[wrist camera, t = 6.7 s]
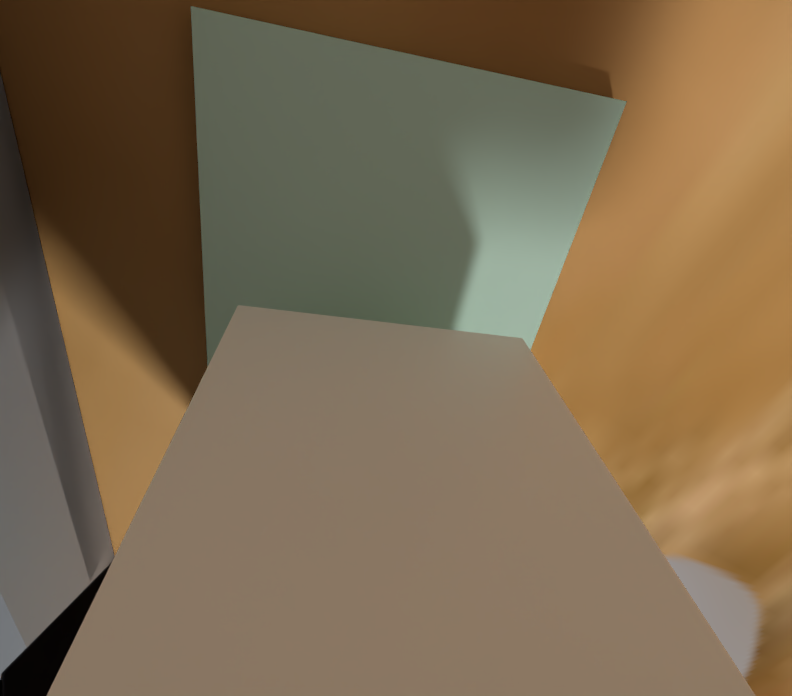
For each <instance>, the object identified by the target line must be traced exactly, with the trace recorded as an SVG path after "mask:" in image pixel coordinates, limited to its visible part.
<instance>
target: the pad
mask: <svg viewBox="0 0 792 696" xmlns="http://www.w3.org/2000/svg"><path fill="white" fill-rule="evenodd" d="M191 23H192V45H193V66H194V88H195V109H196V131H197V152H198V174H199V195H200V217H201V238H202V260H203V281H204V302H205V324H206V345H207V367H208V365H209V363H210V361H211V359H212V357H213V355H214V353H215V351H216V349H217V347H218V345H219V343H220V341H221V339H222V337H223V335H224V332H225V330H226V328H227V326H228V324H229V322H230V320H231V318H232V316H233V314H234V312H235V310H236V308H237V306H238V305H242V306H251V307H259V308H268V309H276V310H285V311H294V312H302V313H311V314H319V315H328V316H336V317H345V318H354V319H362V320H371V321H379V322H388V323H397V324H405V325H414V326H422V327H431V328H439V329H448V330H457V331H465V332H474V333H482V334H491V335H500V336H508V337H517V338H523V340H524V341H525V343H526V344H527V346H528V347H529V349H531V347H532V344H533V342H534V339H535V337H536V334H537V331H538V329H539V326H540V324H541V321H542V319H543V316H544V313H545V311H546V308H547V306H548V303H549V300H550V298H551V295H552V293H553V290H554V288H555V285H556V282H557V280H558V277H559V275H560V272H561V270H562V267H563V264H564V262H565V259H566V257H567V254H568V251H569V249H570V246H571V244H572V241H573V239H574V236H575V233H576V231H577V228H578V226H579V223H580V221H581V218H582V215H583V213H584V210H585V208H586V205H587V202H588V200H589V197H590V195H591V192H592V190H593V187H594V184H595V182H596V179H597V177H598V174H599V172H600V169H601V166H602V164H603V161H604V159H605V156H606V153H607V151H608V148H609V146H610V143H611V141H612V138H613V135H614V133H615V130H616V128H617V125H618V123H619V120H620V117H621V115H622V112H623V110H624V107H625V104H626V102H627V101H622V100H618V99H613V98H609V97H604V96H599V95H595V94H590V93H586V92H581V91H577V90H572V89H568V88H563V87H558V86H554V85H549V84H545V83H540V82H536V81H531V80H526V79H522V78H517V77H513V76H508V75H504V74H499V73H495V72H490V71H485V70H481V69H476V68H472V67H467V66H463V65H458V64H453V63H449V62H444V61H440V60H435V59H431V58H426V57H421V56H417V55H412V54H408V53H403V52H399V51H394V50H390V49H385V48H380V47H376V46H371V45H367V44H362V43H358V42H353V41H348V40H344V39H339V38H335V37H330V36H326V35H321V34H317V33H312V32H307V31H303V30H298V29H294V28H289V27H285V26H280V25H275V24H271V23H266V22H262V21H257V20H253V19H248V18H244V17H239V16H234V15H230V14H225V13H221V12H216V11H212V10H207V9H202V8H198V7H193V6H191Z"/></svg>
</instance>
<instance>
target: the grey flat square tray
mask: <svg viewBox="0 0 792 696" xmlns="http://www.w3.org/2000/svg"><path fill="white" fill-rule="evenodd" d="M113 559H114V552H113V548H112V544H111V540H110V535H109V531H108V527H107V523H106V518H105V514H104V510H103V506H102V501H101V497H100V493H99V489H98V484H97V480H96V476H95V472H94V468H93V463H92V459H91V455H90V451H89V446H88V442H87V438H86V434H85V429H84V425H83V421H82V417H81V412H80V408H79V404H78V400H77V395H76V391H75V387H74V383H73V378H72V374H71V370H70V366H69V361H68V357H67V353H66V349H65V344H64V340H63V336H62V332H61V327H60V323H59V319H58V315H57V311H56V306H55V302H54V298H53V294H52V289H51V285H50V281H49V277H48V272H47V268H46V264H45V260H44V255H43V251H42V247H41V243H40V238H39V234H38V230H37V226H36V221H35V217H34V213H33V209H32V204H31V200H30V196H29V192H28V187H27V183H26V179H25V175H24V170H23V166H22V162H21V158H20V154H19V149H18V145H17V141H16V137H15V132H14V128H13V124H12V120H11V115H10V111H9V107H8V103H7V98H6V94H5V90H4V86H3V81H2V77H1V73H0V679H1V674H2V672H3V671H4V670H5V669H6V668H7V667H8V666H9V665H10V664H11V663H12V662H13V661H14V660H15V659H16V658H17V657H18V656H19V655H20V654H21V653H22V652H23V651H24V650H25V649H26V648H27V647H28V646H29V645H30V644H31V643H32V642H33V641H34V640H35V639H36V638H37V637H38V636H39V635H40V634H41V633H42V632H43V631H44V630H45V629H46V628H47V627H48V626H49V625H50V624H51V623H52V622H53V621H54V620H55V619H56V618H57V617H58V616H59V615H60V614H61V613H62V612H63V611H64V610H65V609H66V608H67V607H68V606H69V605H70V604H71V603H72V602H73V601H74V600H75V599H76V598H77V596H78V595H79V594H80V593H81V592H82V591H83V590H84V589H85V588H86V587H87V586H88V585H89V584H90V583H91V582H92V581H93V580H94V579H95V578H96V577H97V576H98V575H99V574H100V573H101V572H102V571H103V570H104V569H105V568H106V567H107V566H108V565H109V564H110V563H111V562H112V561H113Z"/></svg>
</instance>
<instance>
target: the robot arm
mask: <svg viewBox="0 0 792 696" xmlns="http://www.w3.org/2000/svg"><path fill="white" fill-rule="evenodd" d="M111 563H112V562H111ZM111 563H110V564H109V565H108V566H107V567H106V568H105V569H104V570H103V571H102V572H101V573H100V574H99V575H98V576H97V577H96V578H95V579H94V580H93V581H92V582H91V583H90V584H89V585H88V586H87V587H86V588H85V589H84V590H83V591H82V592H81V593H80V594H79V595H78V596H77V598H76V599H75V600H74V601H73V602H72V603H71V604H70V605H69V606H68V607H67V608H66V609H65V610H64V611H63V612H62V613H61V614H60V615H59V616H58V617H57V618H56V619H55V620H54V621H53V622H52V623H51V624H50V625H49V626H48V627H47V628H46V629H45V630H44V631H43V632H42V633H41V634H40V635H39V636H38V637H37V638H36V639H35V640H34V641H33V642H32V643H31V644H30V645H29V646H28V647H27V648H26V649H25V650H24V651H23V652H22V653H21V654H20V655H19V656H18V657H17V658H16V659H15V660H14V661H13V662H12V663H11V664H10V665H9V666H8V667H7V668H6V669H5V670H4V671H3V672H2V674H1V679H0V696H47V694H48V692H49V690H50V688H51V686H52V684H53V681H54V679H55V677H56V675H57V673H58V671H59V669H60V667H61V665H62V663H63V661H64V659H65V657H66V655H67V653H68V651H69V649H70V647H71V645H72V643H73V641H74V639H75V637H76V635H77V632H78V630H79V628H80V626H81V624H82V622H83V620H84V618H85V616H86V614H87V612H88V610H89V608H90V606H91V604H92V602H93V600H94V598H95V596H96V594H97V592H98V590H99V588H100V586H101V584H102V581H103V579H104V577H105V575H106V573H107V571H108V569H109V567H110V565H111Z"/></svg>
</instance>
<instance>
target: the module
mask: <svg viewBox="0 0 792 696" xmlns="http://www.w3.org/2000/svg"><path fill="white" fill-rule="evenodd" d="M47 696H755V694H754V693H753V691H752V690H751V688H750V686H749V685H748V683H747V682H746V680H745V679H744V677H743V676H742V674H741V673H740V671H739V670H738V668H737V667H736V665H735V664H734V662H733V661H732V659H731V657H730V656H729V654H728V653H727V651H726V650H725V648H724V647H723V645H722V644H721V642H720V641H719V639H718V637H717V636H716V634H715V633H714V631H713V630H712V628H711V627H710V625H709V624H708V622H707V621H706V619H705V618H704V616H703V614H702V613H701V611H700V610H699V608H698V607H697V605H696V604H695V602H694V601H693V599H692V598H691V596H690V595H689V593H688V591H687V590H686V588H685V587H684V585H683V584H682V582H681V581H680V579H679V578H678V576H677V574H676V573H675V571H674V570H673V568H672V567H671V566H670V564H669V562H668V561H667V559H666V558H665V556H664V555H663V553H662V551H661V550H660V548H659V547H658V545H657V544H656V542H655V541H654V539H653V538H652V536H651V535H650V533H649V532H648V530H647V528H646V527H645V525H644V524H643V522H642V521H641V519H640V518H639V516H638V515H637V513H636V512H635V510H634V509H633V507H632V505H631V504H630V502H629V501H628V499H627V498H626V496H625V495H624V493H623V492H622V490H621V489H620V487H619V486H618V484H617V482H616V481H615V479H614V478H613V476H612V475H611V473H610V472H609V470H608V469H607V467H606V466H605V464H604V463H603V461H602V459H601V458H600V456H599V455H598V453H597V452H596V450H595V449H594V447H593V446H592V444H591V443H590V441H589V440H588V438H587V436H586V435H585V433H584V432H583V430H582V429H581V427H580V426H579V424H578V423H577V421H576V420H575V418H574V416H573V415H572V413H571V412H570V410H569V409H568V407H567V406H566V404H565V403H564V401H563V400H562V398H561V397H560V395H559V393H558V392H557V390H556V389H555V387H554V386H553V384H552V383H551V381H550V380H549V378H548V377H547V375H546V374H545V372H544V370H543V369H542V367H541V366H540V364H539V363H538V361H537V360H536V358H535V357H534V355H533V354H532V352H531V351H530V349H529V347H528V346H527V344H526V343H525V341H524V340H523V338H517V337H508V336H500V335H491V334H482V333H474V332H465V331H457V330H448V329H439V328H431V327H422V326H414V325H405V324H397V323H388V322H379V321H371V320H362V319H354V318H345V317H336V316H328V315H319V314H311V313H302V312H294V311H285V310H276V309H268V308H259V307H251V306H242V305H238V306H237V308H236V310H235V312H234V314H233V316H232V318H231V320H230V322H229V324H228V326H227V328H226V330H225V332H224V335H223V337H222V339H221V341H220V343H219V345H218V347H217V349H216V351H215V353H214V355H213V357H212V359H211V361H210V363H209V365H208V367H207V369H206V371H205V373H204V375H203V377H202V379H201V381H200V383H199V386H198V388H197V390H196V392H195V394H194V396H193V398H192V400H191V402H190V404H189V406H188V408H187V410H186V412H185V414H184V416H183V418H182V420H181V422H180V424H179V426H178V428H177V430H176V432H175V435H174V437H173V439H172V441H171V443H170V445H169V447H168V449H167V451H166V453H165V455H164V457H163V459H162V461H161V463H160V465H159V467H158V469H157V471H156V473H155V475H154V477H153V479H152V481H151V484H150V486H149V488H148V490H147V492H146V494H145V496H144V498H143V500H142V502H141V504H140V506H139V508H138V510H137V512H136V514H135V516H134V518H133V520H132V522H131V524H130V526H129V528H128V530H127V532H126V535H125V537H124V539H123V541H122V543H121V545H120V547H119V549H118V551H117V553H116V555H115V557H114V559H113V561H112V563H111V565H110V567H109V569H108V571H107V573H106V575H105V577H104V579H103V581H102V584H101V586H100V588H99V590H98V592H97V594H96V596H95V598H94V600H93V602H92V604H91V606H90V608H89V610H88V612H87V614H86V616H85V618H84V620H83V622H82V624H81V626H80V628H79V630H78V632H77V635H76V637H75V639H74V641H73V643H72V645H71V647H70V649H69V651H68V653H67V655H66V657H65V659H64V661H63V663H62V665H61V667H60V669H59V671H58V673H57V675H56V677H55V679H54V681H53V684H52V686H51V688H50V690H49V692H48V694H47Z"/></svg>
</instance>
